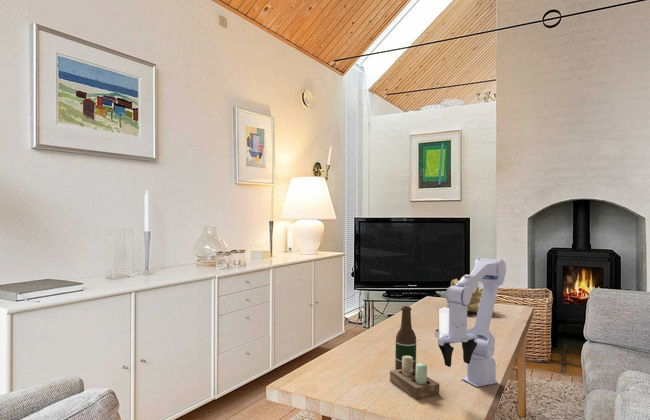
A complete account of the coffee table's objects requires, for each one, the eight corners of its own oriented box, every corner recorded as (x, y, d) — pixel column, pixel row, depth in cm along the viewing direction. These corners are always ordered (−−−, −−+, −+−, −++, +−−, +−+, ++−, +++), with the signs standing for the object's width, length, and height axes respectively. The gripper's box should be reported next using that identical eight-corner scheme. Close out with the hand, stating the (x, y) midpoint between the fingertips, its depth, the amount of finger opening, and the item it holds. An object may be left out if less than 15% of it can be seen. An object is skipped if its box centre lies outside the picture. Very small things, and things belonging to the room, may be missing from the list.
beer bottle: (413, 367, 171) (414, 304, 171) (418, 374, 163) (419, 309, 163) (393, 367, 171) (394, 304, 171) (397, 374, 163) (398, 309, 163)
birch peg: (408, 380, 158) (408, 355, 158) (414, 384, 155) (414, 358, 155) (399, 382, 157) (400, 356, 156) (405, 385, 153) (405, 359, 153)
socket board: (411, 377, 161) (411, 367, 161) (439, 394, 146) (439, 384, 146) (389, 380, 157) (389, 370, 157) (416, 399, 143) (416, 388, 143)
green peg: (421, 389, 150) (422, 362, 150) (428, 393, 147) (429, 366, 147) (413, 391, 149) (413, 364, 149) (419, 395, 146) (420, 367, 146)
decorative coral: (432, 288, 273) (466, 263, 269) (452, 313, 277) (486, 289, 274) (444, 307, 248) (481, 280, 245) (466, 334, 252) (503, 309, 249)
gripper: (447, 328, 140) (447, 371, 140) (483, 323, 146) (483, 365, 146) (433, 322, 146) (433, 364, 146) (469, 318, 152) (468, 358, 152)
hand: (457, 364), depth 147 cm, fingers open, 7 cm apart
